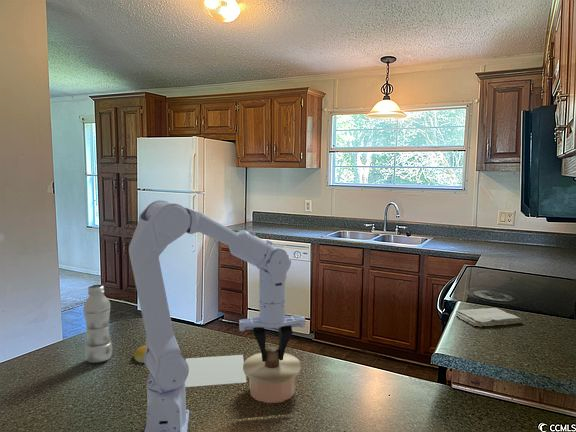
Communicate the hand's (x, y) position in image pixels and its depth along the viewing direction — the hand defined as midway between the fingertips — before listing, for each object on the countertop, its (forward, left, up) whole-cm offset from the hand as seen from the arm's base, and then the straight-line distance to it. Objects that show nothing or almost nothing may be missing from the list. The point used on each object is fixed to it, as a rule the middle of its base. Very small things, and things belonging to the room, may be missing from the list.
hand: (272, 359), depth 95 cm
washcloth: (+35, -78, -9) cm, 86 cm away
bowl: (0, 0, -8) cm, 8 cm away
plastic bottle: (+23, +43, -8) cm, 49 cm away
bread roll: (+23, +30, -8) cm, 39 cm away
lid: (0, 0, -2) cm, 2 cm away
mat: (+12, +13, -8) cm, 19 cm away
